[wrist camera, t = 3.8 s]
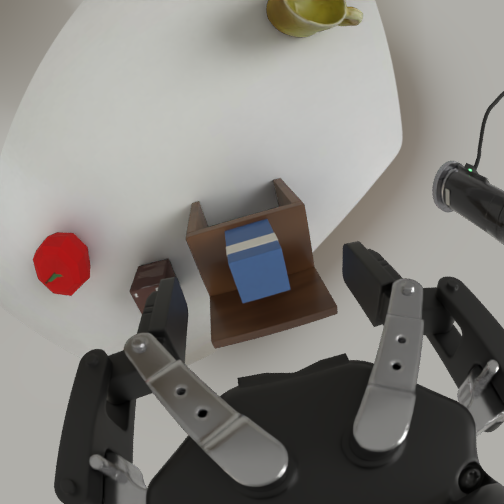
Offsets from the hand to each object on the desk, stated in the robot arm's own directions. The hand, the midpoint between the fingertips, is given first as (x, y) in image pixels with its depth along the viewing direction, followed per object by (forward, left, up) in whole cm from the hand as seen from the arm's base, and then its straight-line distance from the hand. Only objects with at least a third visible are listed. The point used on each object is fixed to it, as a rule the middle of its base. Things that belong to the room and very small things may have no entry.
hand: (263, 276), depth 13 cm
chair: (+7, +7, -30) cm, 31 cm away
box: (+23, -1, -30) cm, 38 cm away
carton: (+6, +6, -18) cm, 20 cm away
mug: (-26, -2, -30) cm, 40 cm away
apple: (+26, -18, -30) cm, 44 cm away
